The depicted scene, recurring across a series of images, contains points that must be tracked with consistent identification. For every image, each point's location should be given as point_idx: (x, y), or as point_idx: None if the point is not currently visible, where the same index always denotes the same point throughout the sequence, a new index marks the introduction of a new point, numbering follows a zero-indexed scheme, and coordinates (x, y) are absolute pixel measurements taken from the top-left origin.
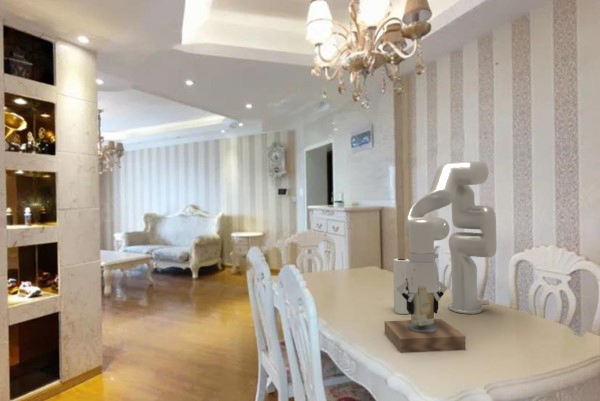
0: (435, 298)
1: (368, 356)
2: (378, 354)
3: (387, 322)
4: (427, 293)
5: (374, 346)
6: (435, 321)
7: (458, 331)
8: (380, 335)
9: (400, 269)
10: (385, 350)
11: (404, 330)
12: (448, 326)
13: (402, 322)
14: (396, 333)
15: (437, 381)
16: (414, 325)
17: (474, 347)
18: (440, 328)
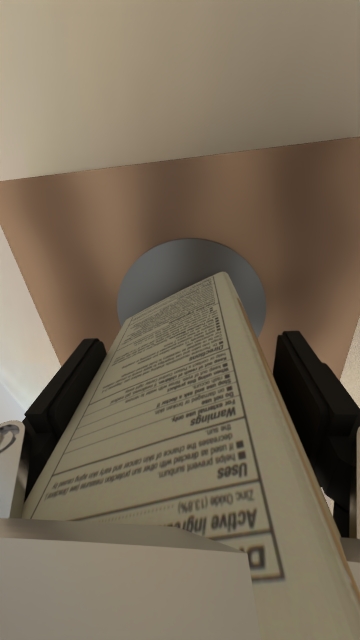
0: (331, 511)
1: (9, 386)
2: (34, 378)
3: (5, 210)
4: None
5: (13, 329)
6: (327, 196)
7: (344, 359)
8: None
9: None
10: (51, 357)
11: (98, 335)
12: (346, 295)
13: (97, 212)
14: (63, 361)
15: None
16: (154, 293)
17: (355, 354)
18: (282, 320)
